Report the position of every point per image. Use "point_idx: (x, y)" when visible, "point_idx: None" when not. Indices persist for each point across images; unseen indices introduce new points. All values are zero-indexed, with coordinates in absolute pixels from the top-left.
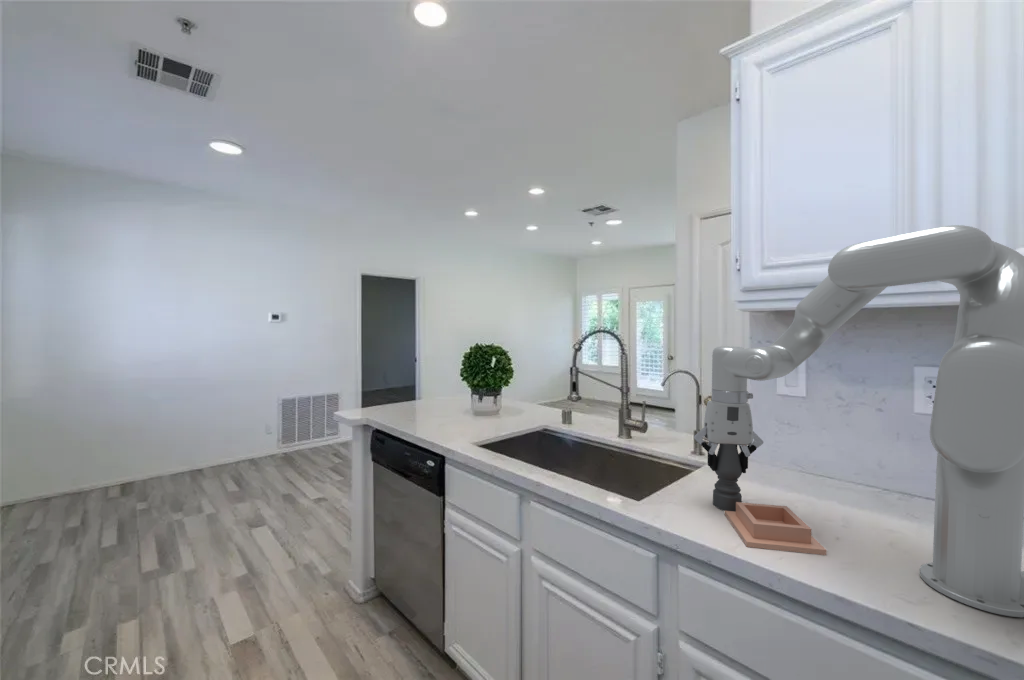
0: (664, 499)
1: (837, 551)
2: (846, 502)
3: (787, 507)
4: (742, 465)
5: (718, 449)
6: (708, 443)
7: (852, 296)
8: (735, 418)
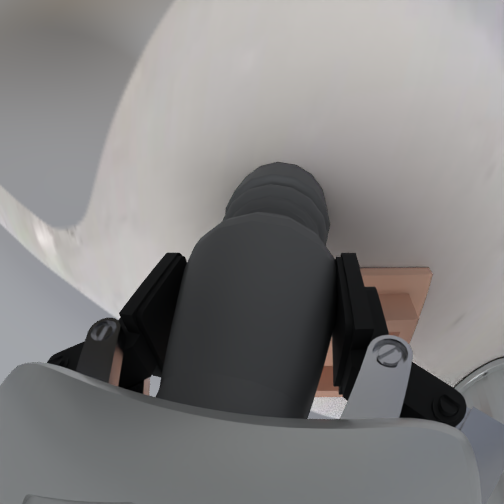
0: (110, 204)
1: (419, 358)
2: None
3: (414, 325)
4: (332, 345)
5: (165, 360)
6: (81, 367)
7: None
8: None
